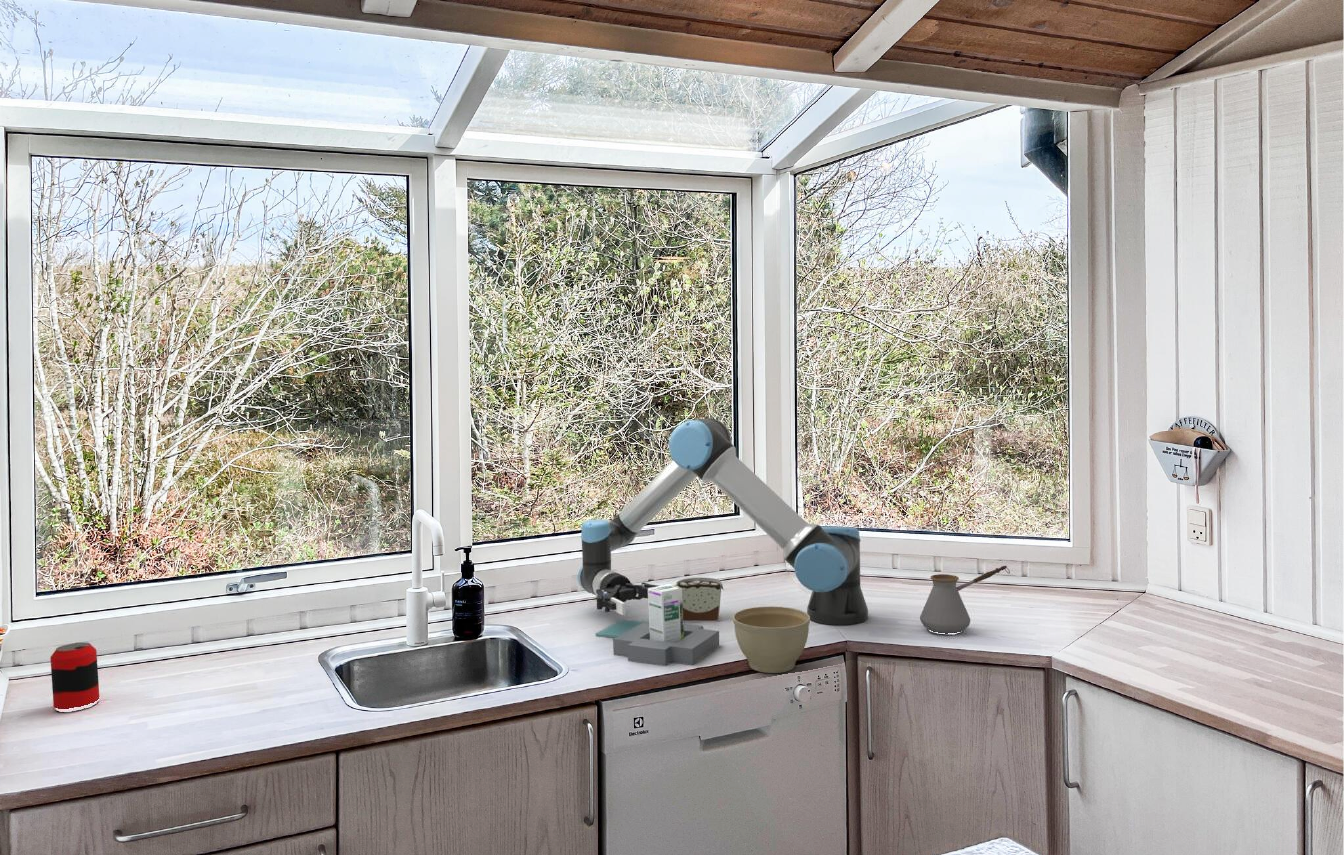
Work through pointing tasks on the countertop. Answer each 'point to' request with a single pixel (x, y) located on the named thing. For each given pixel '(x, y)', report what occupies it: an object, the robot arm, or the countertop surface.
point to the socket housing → (666, 645)
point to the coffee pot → (948, 604)
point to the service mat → (618, 628)
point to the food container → (700, 599)
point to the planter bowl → (771, 637)
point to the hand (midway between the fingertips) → (650, 604)
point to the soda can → (74, 675)
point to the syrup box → (666, 613)
